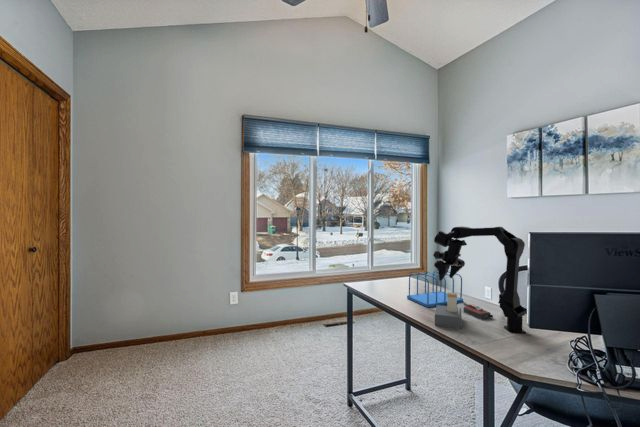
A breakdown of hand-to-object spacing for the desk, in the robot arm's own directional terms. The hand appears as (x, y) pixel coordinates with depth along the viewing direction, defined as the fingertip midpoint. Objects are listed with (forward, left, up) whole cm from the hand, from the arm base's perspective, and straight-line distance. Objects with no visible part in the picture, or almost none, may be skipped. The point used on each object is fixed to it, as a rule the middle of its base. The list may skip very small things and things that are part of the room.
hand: (445, 279), depth 165 cm
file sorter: (+17, +1, -16) cm, 24 cm away
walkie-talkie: (-2, -13, -17) cm, 21 cm away
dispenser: (-16, +3, -16) cm, 23 cm away
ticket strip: (-16, +2, -16) cm, 23 cm away
